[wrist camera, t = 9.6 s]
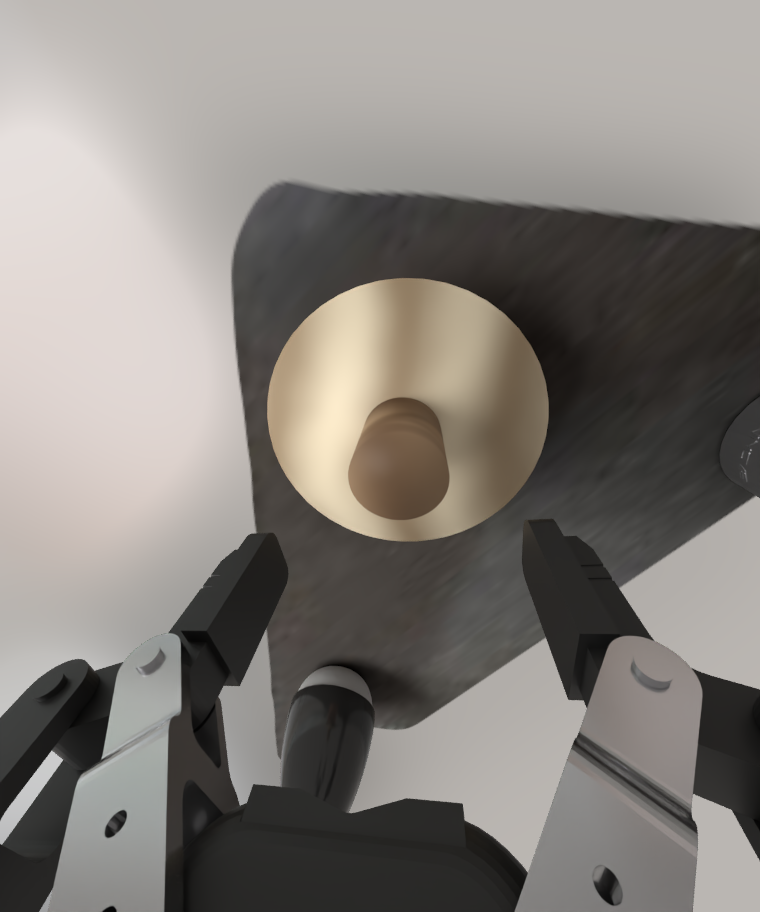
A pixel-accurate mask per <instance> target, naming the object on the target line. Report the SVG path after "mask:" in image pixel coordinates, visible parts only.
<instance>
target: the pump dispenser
mask: <svg viewBox="0 0 760 912" xmlns="http://www.w3.org/2000/svg"><path fill="white" fill-rule="evenodd" d="M374 721H375V711H374V708H373V706H372V698H371V694H370V691H369V688H368V686H367V684H366V683H365V681H364V680H363V679H362V678H361V676H359V675H358V674H357V673H356V672H354V671H352V670H350V669H348V668H345V667H341V666H327V667H323V668H320V669H318V670H316V671H315V672H313V673H312V674H310V675H309V676H308V677H307V678H306V680H305V681H304V682H303V684H302V685H301V687H300V689H299V691H298V692H297V693H296V694H295V695H294V697H293V699H292V702H291V705H290V709H289V713H288V718H287V723H286V728H285V734H284V740H283V747H282V757H281V771H280V787H288V788H299V789H302V790H304V791H306V792H308V793H310V794H312V795H313V796H315V797H317V798H319V799H321V800H323V801H325V802H327V803H328V804H330V805H332V806H334V807H336V808H338V809H340V810H342V811H344V812H346V813H349V810H350V808H351V806H352V804H353V801H354V799H355V796H356V793H357V791H358V788H359V785H360V782H361V779H362V776H363V773H364V769H365V765H366V762H367V758H368V754H369V749H370V744H371V740H372V735H373V729H374Z"/></svg>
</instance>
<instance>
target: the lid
mask: <svg viewBox="0 0 760 912" xmlns="http://www.w3.org/2000/svg"><path fill="white" fill-rule="evenodd" d="M267 418H268V425H269V433H270V437H271V441H272V444H273V448H274V451H275V453H276V456H277V458H278V461H279V463H280V465H281V467H282V469H283V470H284V472H285V474H286V476H287V478H288V479H289V480H290V482H291V483H292V484H293V486H294V487H295V489H296V490H297V491H298V492H299V493H300V494H301V495H302V496H303V497H304V499H305V500H306V501H307V502H308V503H310V504H311V505H312V506H313V507H314V508H315V509H317V510H318V511H319V512H320V513H322V514H323V515H325V516H326V517H328V518H329V519H331V520H332V521H334V522H336V523H338V524H340V525H341V526H343V527H345V528H348V529H350V530H353V531H355V532H357V533H361V534H364V535H367V536H370V537H375V538H380V539H385V540H393V541H423V540H432V539H437V538H442V537H446V536H450V535H453V534H456V533H459V532H462V531H464V530H466V529H469V528H471V527H473V526H475V525H477V524H479V523H481V522H482V521H484V520H486V519H487V518H489V517H491V516H492V515H493V514H495V513H496V512H497V511H499V510H500V509H501V508H503V507H504V506H505V505H506V504H507V503H508V502H509V501H510V500H511V499H512V498H513V497H514V496H515V495H516V494H517V493H518V491H519V490H520V489H521V488H522V486H523V485H524V484H525V483H526V481H527V479H528V478H529V476H530V475H531V473H532V471H533V470H534V468H535V466H536V463H537V461H538V459H539V457H540V455H541V452H542V448H543V445H544V442H545V438H546V433H547V426H548V419H549V400H548V394H547V387H546V381H545V378H544V375H543V372H542V369H541V365H540V363H539V361H538V359H537V357H536V355H535V353H534V351H533V349H532V347H531V345H530V343H529V342H528V341H527V339H526V338H525V336H524V335H523V334H522V332H521V331H520V329H519V328H518V327H517V326H516V325H515V324H514V323H513V322H512V321H511V320H510V319H509V318H508V317H507V316H506V315H505V314H504V313H503V312H501V311H500V310H499V309H497V308H496V307H495V306H493V305H492V304H491V303H489V302H488V301H487V300H485V299H483V298H481V297H479V296H477V295H475V294H473V293H472V292H470V291H468V290H465V289H462V288H459V287H456V286H454V285H451V284H448V283H444V282H438V281H433V280H428V279H414V278H398V279H389V280H380V281H376V282H373V283H369V284H365V285H361V286H358V287H356V288H353V289H351V290H349V291H346V292H344V293H342V294H340V295H338V296H336V297H335V298H333V299H331V300H330V301H328V302H327V303H325V304H323V305H322V306H320V307H319V308H318V309H317V310H316V311H315V312H313V313H312V314H311V315H310V316H309V317H307V318H306V319H305V320H304V322H303V323H302V324H301V325H300V326H299V327H298V328H297V330H296V331H295V332H294V333H293V334H292V336H291V337H290V339H289V340H288V342H287V344H286V345H285V347H284V348H283V350H282V352H281V354H280V356H279V359H278V361H277V363H276V365H275V368H274V371H273V375H272V378H271V382H270V387H269V394H268V412H267Z"/></svg>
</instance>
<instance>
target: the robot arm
mask: <svg viewBox="0 0 760 912" xmlns="http://www.w3.org/2000/svg"><path fill="white" fill-rule="evenodd" d="M720 465H721V467H722V469H723V471H724V473H725V475H726V476H727V477H728V478H729V479H730V480H731V481H733V482H734V483H736V484H738V485H739V486H741V487H743V488H744V489H746V490H748V491H749V492H751V493H752V494H754V495H756V496H757V497H759V498H760V397H758V398H757V399H756V400H755V401H753V402H752V403H751V404H749V405H748V406H747V407H746V408H745V409H744V410H743V411H742V412H741V413H740V414H739V415H738V416H737V417H736V419H735V420H734V422H733V423H732V424H731V426H730V427H729V428H728V430H727V432H726V434H725V436H724V439H723V441H722V444H721V449H720ZM522 565H523V572H524V576H525V580H526V583H527V586H528V589H529V591H530V594H531V597H532V600H533V602H534V605H535V608H536V611H537V614H538V616H539V619H540V622H541V625H542V628H543V630H544V633H545V636H546V639H547V641H548V644H549V647H550V650H551V653H552V656H553V658H554V661H555V664H556V667H557V670H558V672H559V675H560V678H561V681H562V683H563V686H564V689H565V692H566V695H567V697H568V699H569V700H584V702H585V705H586V707H587V710H586V713H585V716H584V719H583V722H582V725H581V728H580V731H579V733H578V736H577V738H576V739H575V740H574V743H573V745H572V748H571V750H570V753H569V756H568V759H567V762H566V765H565V767H564V770H563V773H562V776H561V779H560V782H559V785H558V788H557V791H556V793H555V796H554V799H553V802H552V805H551V808H550V811H549V814H548V817H547V820H546V822H545V825H544V828H543V831H542V834H541V837H540V840H539V843H538V846H537V849H536V851H535V854H534V857H533V860H532V863H531V866H530V869H529V872H527V871H526V870H525V868H524V867H523V866H522V865H521V864H520V863H519V861H518V860H517V859H516V858H515V857H514V856H513V855H512V854H511V853H510V852H509V851H508V850H507V849H506V848H505V847H504V846H503V845H501V844H500V843H499V842H498V841H497V840H496V839H494V838H493V837H492V836H490V835H489V834H488V833H486V832H485V831H483V830H482V829H480V828H479V827H477V826H475V825H473V824H470V823H468V822H466V821H465V820H464V811H463V804H460V803H451V802H440V801H429V800H418V799H403V800H400V801H396V802H392V803H389V804H385V805H381V806H378V807H374V808H371V809H367V810H363V811H360V812H356V813H346V812H344V811H342V810H340V809H338V808H336V807H334V806H332V805H330V804H328V803H327V802H325V801H323V800H321V799H319V798H317V797H315V796H313V795H312V794H310V793H308V792H306V791H304V790H302V789H299V788H288V787H276V786H266V785H255V784H254V785H253V787H252V790H251V793H250V796H249V799H248V802H247V803H246V804H244V805H241V806H240V805H239V801H238V798H237V795H236V792H235V789H234V787H233V784H232V781H231V778H230V773H229V767H228V759H227V750H226V742H225V733H224V725H223V716H222V707H221V701H220V699H219V697H218V696H219V694H220V692H221V690H222V688H223V686H240V684H241V682H242V680H243V678H244V676H245V673H246V671H247V669H248V667H249V665H250V663H251V660H252V658H253V656H254V654H255V652H256V649H257V647H258V645H259V643H260V641H261V639H262V636H263V634H264V632H265V630H266V628H267V626H268V623H269V621H270V619H271V617H272V615H273V612H274V610H275V608H276V606H277V604H278V601H279V599H280V597H281V595H282V593H283V591H284V588H285V586H286V584H287V580H288V567H287V564H286V561H285V558H284V556H283V553H282V551H281V548H280V545H279V543H278V540H277V537H276V536H275V534H274V533H256V534H250V535H248V536H247V537H246V539H245V540H244V542H243V543H242V544H241V546H240V547H239V549H238V550H234V551H233V552H232V553H231V554H229V555H228V556H227V557H226V558H225V559H223V560H222V561H221V562H220V564H219V565H218V566H217V568H216V569H215V570H214V572H213V573H212V575H211V577H209V578H208V580H207V581H206V583H205V584H204V585H203V589H201V590H200V591H199V592H198V593H197V595H196V596H195V598H194V599H193V601H192V602H191V603H190V604H189V606H188V607H187V608H186V610H185V611H184V612H183V614H182V615H181V617H180V618H179V619H178V621H177V622H176V623H175V625H174V626H173V628H172V629H171V630H170V631H169V633H166V634H161V635H158V636H155V637H153V638H151V639H149V640H147V641H146V642H144V643H143V644H141V645H140V646H139V647H138V648H136V649H135V650H134V651H133V652H132V653H131V654H130V655H129V656H128V657H127V658H126V660H125V661H124V662H122V663H119V664H115V665H112V666H109V667H106V668H102V669H99V670H96V671H94V670H93V669H92V667H91V666H90V665H89V664H88V663H87V662H86V661H85V660H82V659H75V660H71V661H68V662H65V663H63V664H61V665H59V666H57V667H55V668H53V669H51V670H50V671H49V672H47V673H46V674H44V675H43V676H41V677H40V678H39V679H38V680H37V681H35V682H34V683H33V684H32V685H31V686H30V687H29V688H28V689H27V690H26V691H25V692H24V693H23V694H22V695H21V696H20V697H19V699H18V700H17V701H16V702H15V703H14V704H13V705H12V706H11V707H10V708H9V709H8V710H7V711H6V712H5V713H4V714H3V715H2V717H1V718H0V820H1V818H2V816H3V815H4V813H5V811H6V810H7V808H8V807H9V806H10V804H11V803H12V802H13V801H14V799H15V798H16V796H17V795H18V794H19V793H20V791H21V790H22V789H23V787H24V786H25V785H26V783H27V782H28V781H29V779H30V778H31V777H32V776H33V774H34V773H35V772H36V770H37V769H38V768H39V766H40V765H41V764H42V762H43V761H44V760H45V758H46V757H47V756H48V754H49V753H50V752H51V751H53V752H55V753H56V754H57V755H58V756H59V757H61V758H62V759H63V761H62V763H61V764H60V766H59V767H58V768H57V770H56V771H55V772H54V774H53V775H52V777H51V778H50V779H49V781H48V782H47V784H46V785H45V786H44V788H43V789H42V791H41V792H40V794H39V795H38V796H37V797H36V799H35V800H34V802H33V803H32V805H31V806H30V807H29V809H28V810H27V811H26V813H25V814H24V816H23V817H22V818H21V820H20V821H19V823H18V824H17V825H16V827H15V828H14V829H13V831H12V832H11V834H10V835H9V837H8V838H7V839H6V841H5V842H4V843H3V844H2V845H1V844H0V912H39V911H40V909H41V907H42V906H43V904H44V902H45V901H46V899H47V897H48V895H49V894H50V892H51V890H52V889H53V890H52V895H51V900H50V904H49V908H48V912H693V900H694V888H695V876H696V864H697V851H698V833H697V826H696V823H695V821H693V819H692V814H691V807H692V795H693V794H695V795H698V796H700V797H702V798H705V799H707V800H709V801H712V802H714V803H717V804H719V805H722V806H724V807H726V808H729V809H731V810H732V811H733V813H734V815H735V816H736V818H737V820H738V822H739V824H740V826H741V827H742V829H743V831H744V833H745V835H746V837H747V838H748V840H749V842H750V844H751V846H752V847H753V849H754V851H755V853H756V855H757V856H758V858H759V860H760V690H759V689H756V688H752V687H749V686H745V685H742V684H738V683H735V682H731V681H728V680H724V679H721V678H717V677H714V676H710V675H707V674H704V673H701V672H699V671H696V670H694V669H692V668H690V666H689V665H688V664H687V663H686V662H685V661H684V660H683V659H682V658H681V657H680V656H678V655H677V654H676V653H674V652H673V651H671V650H670V649H669V648H667V647H665V646H663V645H662V644H660V643H658V642H655V641H654V640H653V639H652V637H651V636H650V635H649V633H648V632H647V630H646V629H645V627H644V626H643V624H642V623H641V621H640V619H639V618H638V617H637V615H636V613H635V612H634V611H633V609H632V607H631V606H630V604H629V603H628V601H627V600H626V598H625V597H624V595H623V594H622V592H621V591H620V589H619V588H618V586H617V585H616V583H615V582H614V581H612V577H611V576H610V574H609V573H608V571H607V570H606V568H604V567H603V564H602V562H601V560H600V559H599V557H598V556H597V554H596V553H595V551H594V550H593V549H592V548H591V547H590V546H588V545H587V544H586V543H585V542H583V541H582V540H581V539H579V538H578V537H577V536H563V534H562V532H561V531H560V529H559V527H558V525H557V524H556V522H555V521H554V520H553V519H539V520H525V521H524V528H523V550H522Z"/></svg>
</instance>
